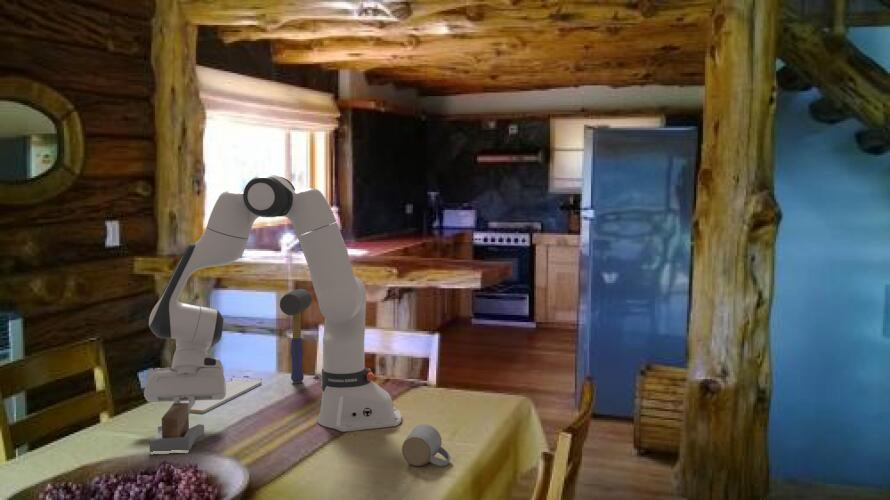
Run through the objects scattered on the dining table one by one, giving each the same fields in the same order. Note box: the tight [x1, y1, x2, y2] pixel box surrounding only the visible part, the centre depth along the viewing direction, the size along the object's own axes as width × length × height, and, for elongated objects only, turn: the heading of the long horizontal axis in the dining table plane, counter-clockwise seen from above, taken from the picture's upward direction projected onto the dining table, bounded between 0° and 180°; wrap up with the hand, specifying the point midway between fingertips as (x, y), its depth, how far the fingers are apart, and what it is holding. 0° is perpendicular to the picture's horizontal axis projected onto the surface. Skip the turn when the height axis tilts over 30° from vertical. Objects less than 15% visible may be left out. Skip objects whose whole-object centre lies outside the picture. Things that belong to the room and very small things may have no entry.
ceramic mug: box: [401, 423, 451, 467], centre depth 166 cm, size 11×8×8 cm
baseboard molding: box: [184, 375, 262, 415], centre depth 218 cm, size 31×3×12 cm
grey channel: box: [149, 423, 205, 453], centre depth 178 cm, size 11×14×4 cm
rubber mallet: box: [279, 288, 313, 384], centre depth 232 cm, size 12×8×30 cm, turn 172°
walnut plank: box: [161, 402, 190, 438], centre depth 179 cm, size 4×12×8 cm, turn 8°
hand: (182, 414), depth 185 cm, fingers closed, pressing on walnut plank
